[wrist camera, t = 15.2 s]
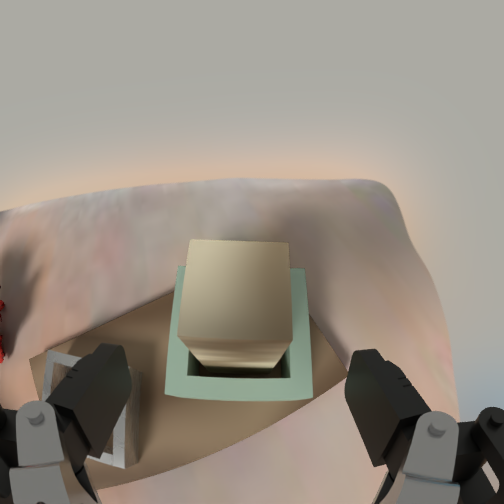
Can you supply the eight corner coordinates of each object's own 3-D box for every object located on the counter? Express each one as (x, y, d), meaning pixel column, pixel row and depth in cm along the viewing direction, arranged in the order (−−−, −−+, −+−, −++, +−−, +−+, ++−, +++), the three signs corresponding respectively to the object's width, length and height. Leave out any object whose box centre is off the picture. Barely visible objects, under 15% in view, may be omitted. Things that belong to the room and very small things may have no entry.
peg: (209, 372, 18) (176, 335, 9) (213, 318, 20) (190, 239, 11) (268, 374, 18) (292, 339, 9) (268, 320, 20) (288, 242, 11)
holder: (59, 438, 14) (40, 438, 11) (65, 357, 17) (48, 349, 15) (138, 463, 14) (124, 468, 12) (142, 372, 17) (129, 366, 15)
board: (38, 363, 18) (29, 359, 17) (263, 258, 24) (264, 248, 23) (87, 489, 13) (78, 492, 11) (343, 377, 19) (349, 374, 18)
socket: (180, 397, 17) (164, 394, 13) (188, 291, 21) (178, 265, 17) (299, 400, 17) (312, 397, 13) (294, 293, 21) (304, 268, 18)
